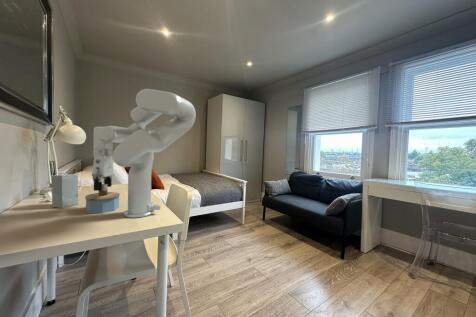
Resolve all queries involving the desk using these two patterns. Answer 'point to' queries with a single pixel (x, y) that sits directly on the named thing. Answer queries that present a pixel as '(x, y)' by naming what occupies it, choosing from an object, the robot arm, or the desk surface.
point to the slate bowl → (102, 205)
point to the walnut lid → (102, 194)
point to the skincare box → (64, 190)
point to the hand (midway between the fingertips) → (103, 188)
